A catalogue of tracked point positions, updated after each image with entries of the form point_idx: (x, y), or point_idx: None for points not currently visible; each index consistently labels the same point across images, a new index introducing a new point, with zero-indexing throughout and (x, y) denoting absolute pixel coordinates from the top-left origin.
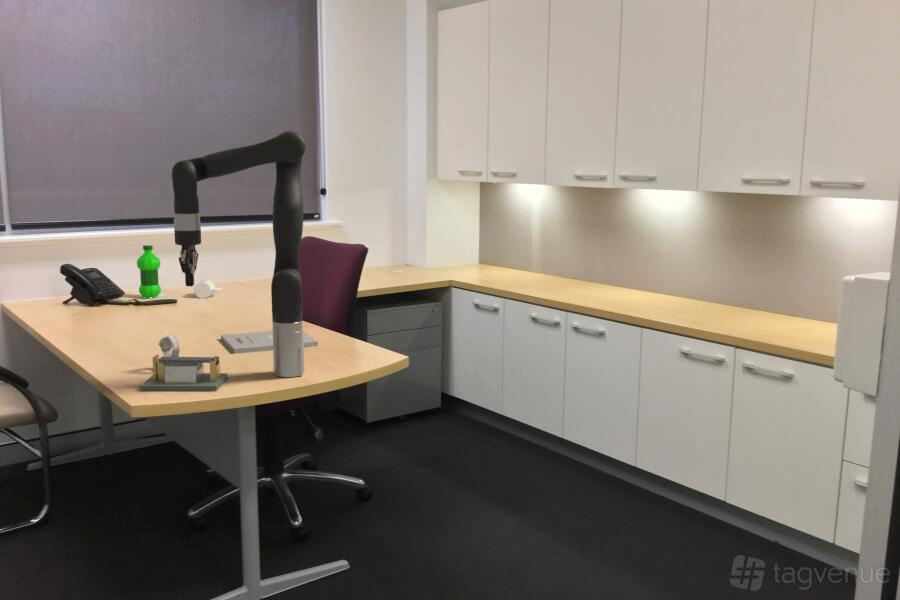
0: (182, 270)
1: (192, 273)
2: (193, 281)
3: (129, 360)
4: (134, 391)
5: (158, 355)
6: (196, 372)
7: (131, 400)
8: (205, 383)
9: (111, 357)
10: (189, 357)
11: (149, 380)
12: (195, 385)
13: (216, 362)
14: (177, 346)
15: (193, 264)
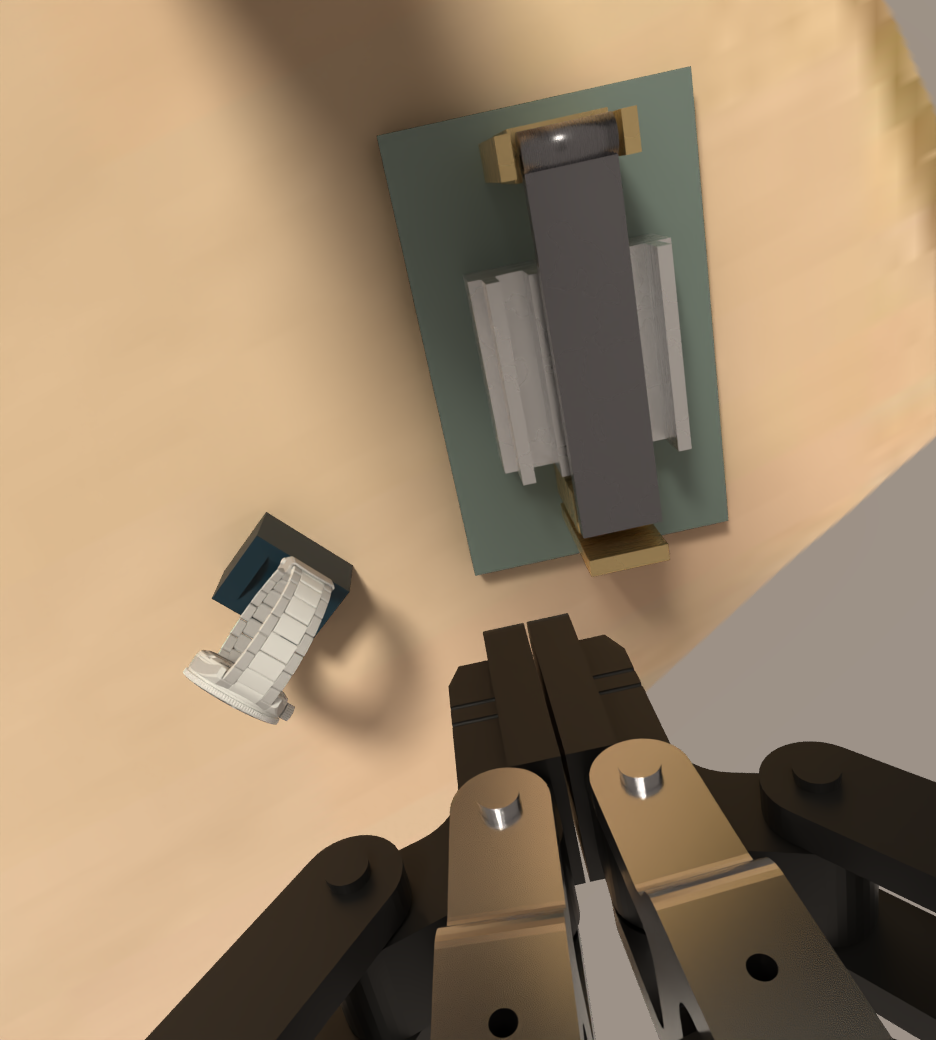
0: (898, 917)
1: (655, 743)
2: (531, 657)
3: (186, 847)
4: (728, 531)
5: (599, 558)
6: (653, 241)
7: (881, 463)
8: (642, 172)
9: (164, 941)
10: (568, 354)
11: None
12: (692, 216)
13: (516, 153)
14: (301, 581)
15: (779, 890)
